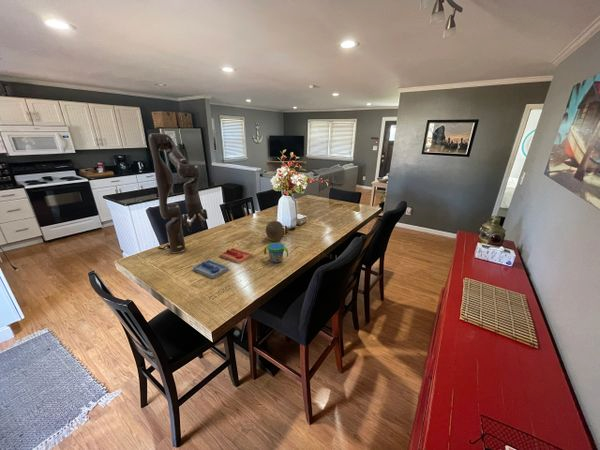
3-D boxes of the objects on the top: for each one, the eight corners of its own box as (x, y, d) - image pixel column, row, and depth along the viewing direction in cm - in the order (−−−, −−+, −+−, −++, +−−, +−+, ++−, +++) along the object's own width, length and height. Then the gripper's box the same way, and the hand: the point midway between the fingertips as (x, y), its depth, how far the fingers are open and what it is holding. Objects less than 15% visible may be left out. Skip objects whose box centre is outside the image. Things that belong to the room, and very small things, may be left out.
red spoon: (244, 256, 155) (244, 253, 154) (239, 259, 151) (239, 255, 150) (230, 251, 162) (230, 248, 161) (224, 254, 158) (224, 250, 157)
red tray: (220, 256, 156) (219, 253, 155) (233, 250, 165) (232, 247, 164) (239, 263, 147) (239, 260, 147) (251, 256, 156) (251, 253, 156)
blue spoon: (221, 270, 139) (221, 266, 138) (214, 274, 135) (214, 270, 134) (206, 264, 145) (206, 260, 144) (199, 267, 142) (199, 263, 141)
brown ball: (288, 240, 182) (288, 221, 177) (274, 245, 172) (273, 226, 167) (276, 235, 191) (275, 217, 186) (262, 240, 181) (261, 221, 176)
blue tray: (193, 270, 140) (192, 267, 139) (209, 262, 149) (208, 259, 148) (212, 278, 131) (212, 275, 131) (228, 269, 140) (228, 266, 140)
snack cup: (291, 258, 154) (290, 244, 150) (284, 266, 144) (283, 251, 141) (269, 254, 159) (268, 240, 155) (261, 261, 150) (260, 247, 146)
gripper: (199, 198, 138) (203, 224, 143) (176, 203, 126) (181, 231, 132) (208, 199, 134) (211, 226, 139) (185, 205, 122) (189, 234, 128)
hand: (197, 229), depth 136 cm, fingers open, 8 cm apart
